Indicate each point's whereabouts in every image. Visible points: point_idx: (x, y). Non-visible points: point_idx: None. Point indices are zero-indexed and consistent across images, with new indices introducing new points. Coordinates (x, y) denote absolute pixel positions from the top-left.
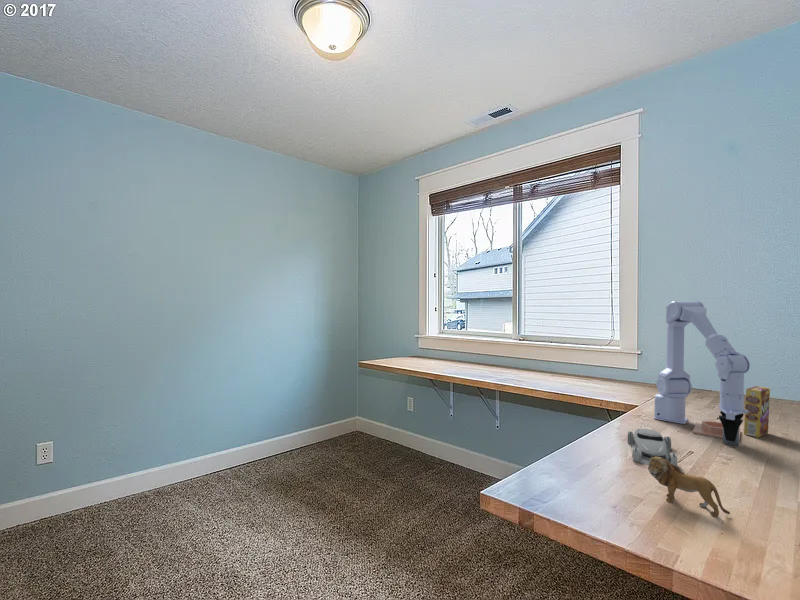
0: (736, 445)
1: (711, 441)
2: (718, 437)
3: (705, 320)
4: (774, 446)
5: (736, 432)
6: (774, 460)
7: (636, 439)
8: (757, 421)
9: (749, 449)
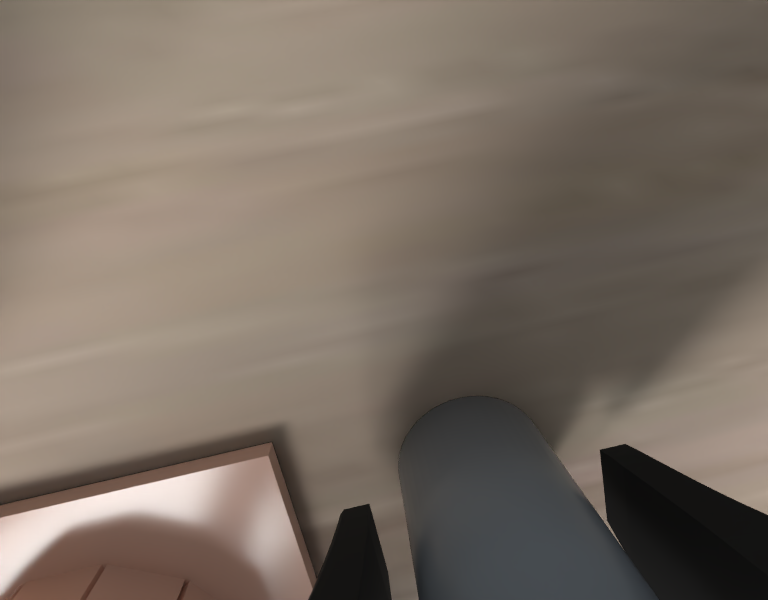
0: (519, 413)
1: None
2: None
3: None
4: (83, 133)
5: (754, 515)
6: (749, 4)
7: None
8: None
9: (506, 297)
